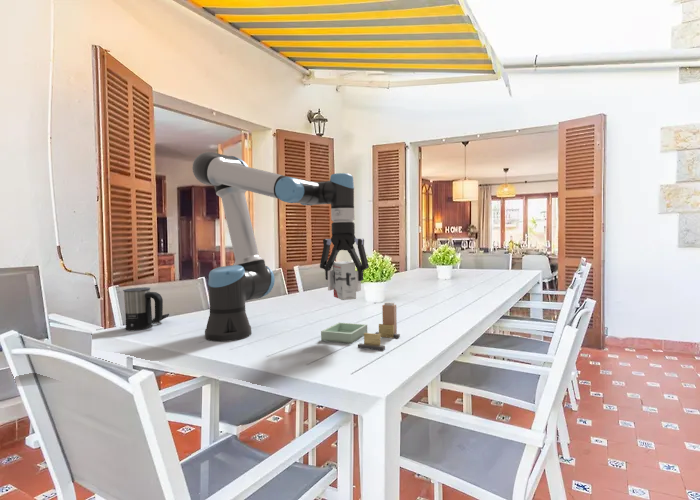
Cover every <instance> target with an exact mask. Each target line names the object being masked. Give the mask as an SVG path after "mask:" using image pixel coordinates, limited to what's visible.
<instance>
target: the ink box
mask: <svg viewBox="0 0 700 500" xmlns="http://www.w3.org/2000/svg"><path fill="white" fill-rule="evenodd" d="M332 270H333V288H334V289H333V297H334V298H336V299H338V300H341V301H349V300H357V292H356V286H355V271H356V266H355V263H354V262H353V261H346V260H344V261H343V260H342V261H334V263H333V265H332Z"/></svg>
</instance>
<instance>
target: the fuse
mask: <svg viewBox="0 0 700 500" xmlns="http://www.w3.org/2000/svg"><path fill="white" fill-rule="evenodd" d="M381 307H382V308H381V309H382V311H381V313H382V324H387V325H394V334H398V331H397V328H398V326H397V322H398V321H397V304H395V302H393V301H392V302H391V301H385V302H384V304H383V305H382V306H381Z"/></svg>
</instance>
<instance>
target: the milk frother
mask: <svg viewBox="0 0 700 500" xmlns="http://www.w3.org/2000/svg"><path fill="white" fill-rule="evenodd" d="M122 291H123V295H124V296H123V298H124V311H125V313H124V314H125V329H126V330H125V329H124V330H125V331H131V330H134V331H141V330H147V329H151V328H153V324H156V323H160V322H161V321H162V320H164V319H166V318H168V317H169V316H170V314H169V313H167V314H166V313H165V314H163V313H164V312H163V309H164V305H163V303H164V301H163V297H162V295H161V294H160V293H159V292H157V291H156V292H155V291H151V287H143V286H142V287H134V288H133V287H131V288H126V289H123V290H122ZM152 299H153V300H154V301H153V302H154V317H153V315H152V314H153V313H152Z"/></svg>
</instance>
